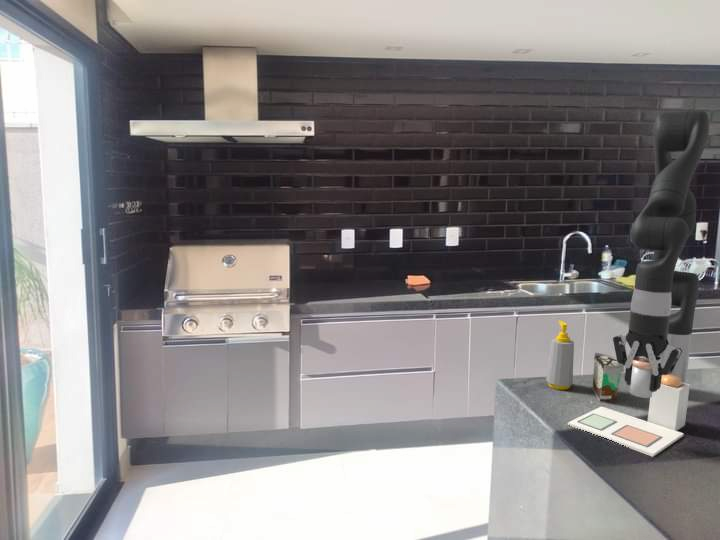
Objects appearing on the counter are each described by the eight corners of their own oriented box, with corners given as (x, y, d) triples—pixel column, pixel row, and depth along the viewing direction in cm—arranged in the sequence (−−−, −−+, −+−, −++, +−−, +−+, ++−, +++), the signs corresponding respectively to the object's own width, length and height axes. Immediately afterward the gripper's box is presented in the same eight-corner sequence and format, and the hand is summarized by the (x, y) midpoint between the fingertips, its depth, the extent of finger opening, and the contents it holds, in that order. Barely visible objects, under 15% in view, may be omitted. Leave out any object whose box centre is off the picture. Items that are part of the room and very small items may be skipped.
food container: (626, 406, 142) (630, 368, 140) (600, 403, 143) (604, 366, 141) (614, 389, 154) (618, 354, 152) (591, 386, 155) (594, 352, 153)
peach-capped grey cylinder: (634, 388, 125) (638, 356, 124) (656, 395, 121) (660, 361, 120) (625, 393, 122) (629, 359, 121) (647, 399, 118) (651, 365, 117)
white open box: (657, 416, 135) (662, 377, 134) (684, 425, 131) (689, 384, 129) (647, 423, 132) (651, 382, 130) (674, 432, 127) (679, 390, 125)
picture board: (600, 408, 139) (601, 405, 139) (683, 435, 125) (683, 432, 125) (567, 425, 129) (567, 422, 129) (653, 456, 115) (653, 453, 115)
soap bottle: (566, 381, 158) (571, 320, 155) (576, 390, 151) (582, 326, 148) (542, 381, 158) (547, 319, 155) (551, 390, 151) (556, 326, 148)
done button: (664, 383, 133) (665, 373, 132) (683, 388, 130) (684, 378, 129) (657, 386, 130) (658, 376, 130) (676, 392, 127) (677, 381, 127)
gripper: (693, 315, 116) (683, 393, 118) (624, 302, 127) (616, 375, 129) (679, 319, 111) (669, 401, 114) (608, 306, 122) (601, 381, 124)
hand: (641, 387), depth 121 cm, fingers closed on peach-capped grey cylinder, 4 cm apart
